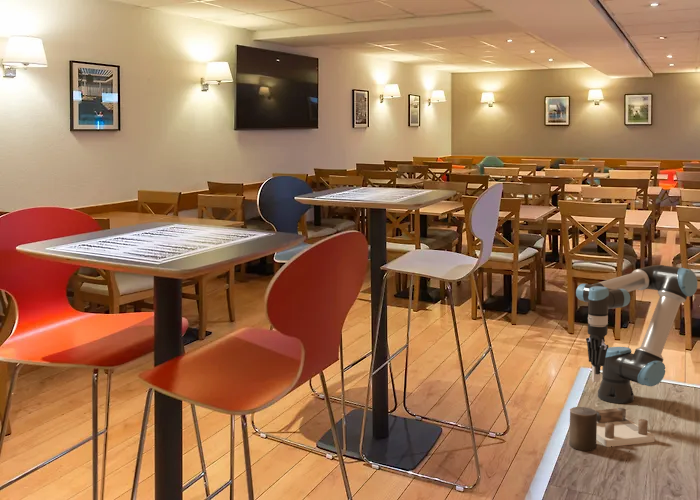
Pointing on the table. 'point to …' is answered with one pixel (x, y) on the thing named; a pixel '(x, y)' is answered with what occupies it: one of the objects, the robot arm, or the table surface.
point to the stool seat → (623, 433)
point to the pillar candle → (583, 428)
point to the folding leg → (611, 415)
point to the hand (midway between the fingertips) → (595, 380)
